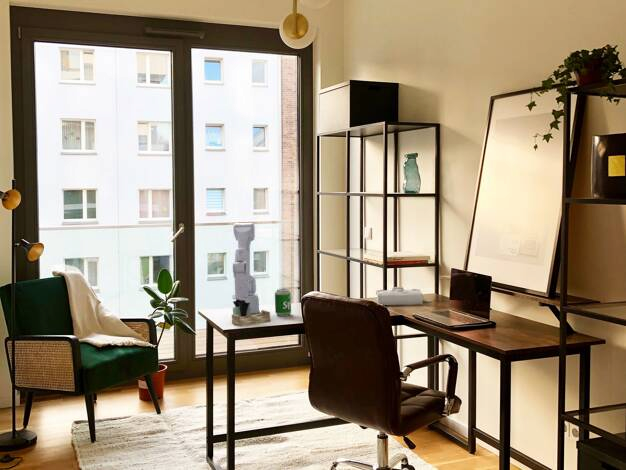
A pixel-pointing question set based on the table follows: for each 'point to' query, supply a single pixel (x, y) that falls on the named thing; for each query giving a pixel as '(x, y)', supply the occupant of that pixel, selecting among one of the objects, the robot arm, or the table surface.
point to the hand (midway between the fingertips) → (242, 316)
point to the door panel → (237, 312)
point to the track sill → (251, 318)
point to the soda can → (283, 302)
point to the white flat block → (400, 297)
